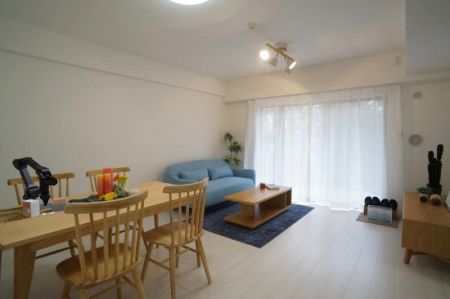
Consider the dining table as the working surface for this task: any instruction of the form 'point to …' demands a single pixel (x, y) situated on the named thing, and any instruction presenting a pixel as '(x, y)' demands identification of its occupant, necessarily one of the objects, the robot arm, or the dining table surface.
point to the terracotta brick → (59, 201)
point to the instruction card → (48, 213)
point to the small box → (31, 208)
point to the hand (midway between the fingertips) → (45, 205)
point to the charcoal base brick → (58, 207)
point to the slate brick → (41, 206)
